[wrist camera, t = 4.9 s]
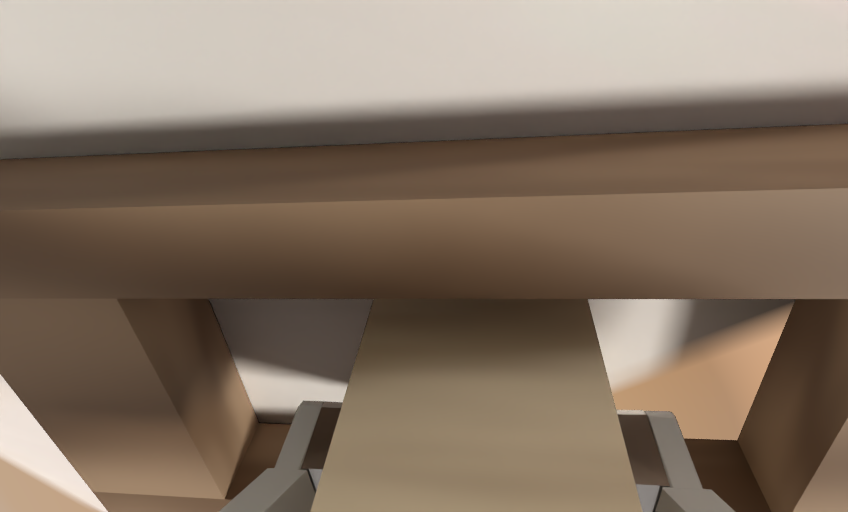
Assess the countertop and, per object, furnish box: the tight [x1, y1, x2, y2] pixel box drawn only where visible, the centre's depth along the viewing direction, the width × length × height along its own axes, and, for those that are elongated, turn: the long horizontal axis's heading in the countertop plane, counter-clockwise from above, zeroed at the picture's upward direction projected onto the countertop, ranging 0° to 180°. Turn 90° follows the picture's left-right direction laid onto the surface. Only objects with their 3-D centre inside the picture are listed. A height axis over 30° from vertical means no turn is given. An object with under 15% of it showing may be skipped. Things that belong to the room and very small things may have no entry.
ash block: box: [310, 299, 643, 512], centre depth 10 cm, size 4×4×6 cm
